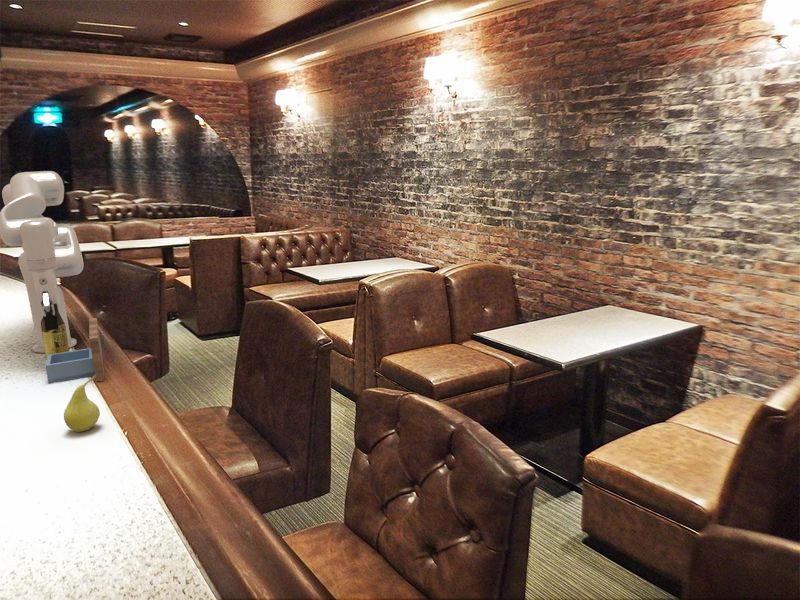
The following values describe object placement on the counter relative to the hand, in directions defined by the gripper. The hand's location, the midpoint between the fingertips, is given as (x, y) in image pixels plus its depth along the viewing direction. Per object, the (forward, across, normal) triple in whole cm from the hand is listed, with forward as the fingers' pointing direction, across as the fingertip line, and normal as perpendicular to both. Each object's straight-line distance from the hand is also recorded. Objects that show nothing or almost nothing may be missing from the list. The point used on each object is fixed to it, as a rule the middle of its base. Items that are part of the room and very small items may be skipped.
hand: (52, 326), depth 181 cm
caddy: (+12, -11, -4) cm, 17 cm away
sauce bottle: (+12, 0, 0) cm, 12 cm away
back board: (+12, -11, -10) cm, 19 cm away
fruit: (+12, -55, -7) cm, 57 cm away
